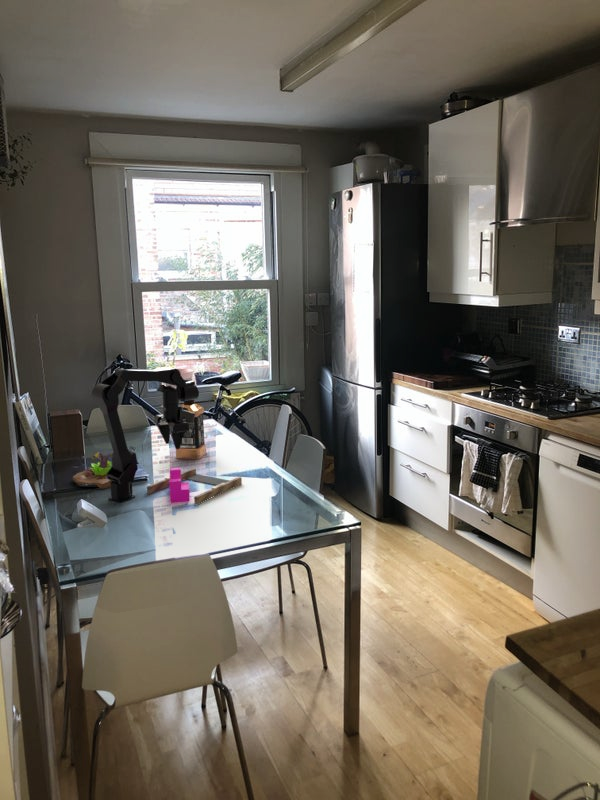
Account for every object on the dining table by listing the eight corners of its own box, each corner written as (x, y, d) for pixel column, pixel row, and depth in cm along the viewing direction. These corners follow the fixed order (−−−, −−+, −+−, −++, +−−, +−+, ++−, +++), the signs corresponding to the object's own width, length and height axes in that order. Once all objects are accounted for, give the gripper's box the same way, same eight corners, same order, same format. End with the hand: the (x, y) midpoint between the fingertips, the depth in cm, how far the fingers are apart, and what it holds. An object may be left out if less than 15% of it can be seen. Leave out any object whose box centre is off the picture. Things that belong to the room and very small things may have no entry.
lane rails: (197, 504, 210) (197, 496, 210) (147, 493, 222) (146, 485, 222) (241, 483, 230) (241, 476, 230) (193, 474, 242) (193, 466, 242)
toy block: (189, 502, 214) (188, 480, 212) (170, 503, 212) (169, 482, 211) (188, 487, 228) (187, 467, 227) (170, 489, 227) (169, 468, 225)
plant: (62, 484, 234) (60, 455, 232) (100, 469, 251) (98, 441, 249) (105, 492, 225) (103, 461, 223) (141, 476, 243) (139, 447, 240)
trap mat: (227, 488, 226) (227, 486, 226) (186, 479, 236) (186, 478, 236) (238, 483, 231) (238, 482, 231) (196, 475, 241) (196, 474, 241)
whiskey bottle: (207, 452, 271) (203, 377, 265) (199, 459, 261) (195, 381, 255) (183, 451, 273) (179, 377, 267) (175, 458, 263) (170, 381, 257)
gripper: (203, 405, 224) (204, 448, 226) (181, 397, 239) (183, 438, 242) (172, 408, 218) (174, 453, 220) (152, 400, 233) (154, 442, 236)
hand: (172, 446), depth 230 cm, fingers open, 9 cm apart
